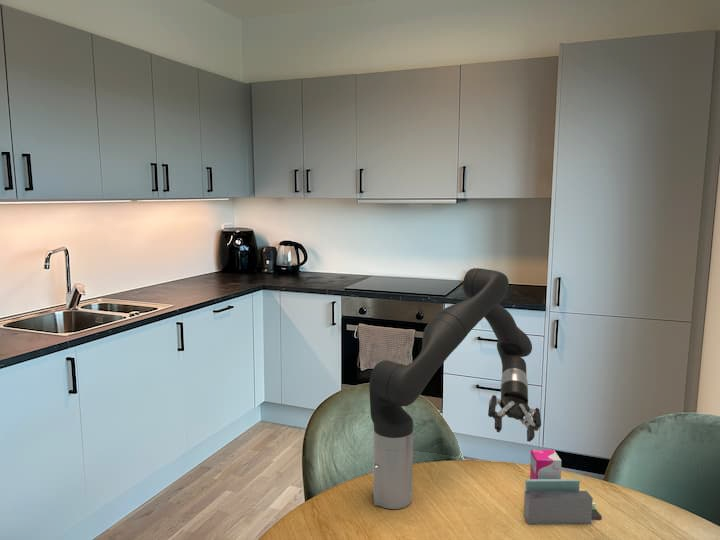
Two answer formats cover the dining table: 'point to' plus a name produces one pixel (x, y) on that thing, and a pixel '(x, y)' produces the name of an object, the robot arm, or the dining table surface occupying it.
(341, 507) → the dining table surface
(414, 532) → the dining table surface
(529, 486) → the gauge plate
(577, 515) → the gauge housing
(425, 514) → the dining table surface
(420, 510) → the dining table surface
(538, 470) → the supplement box
